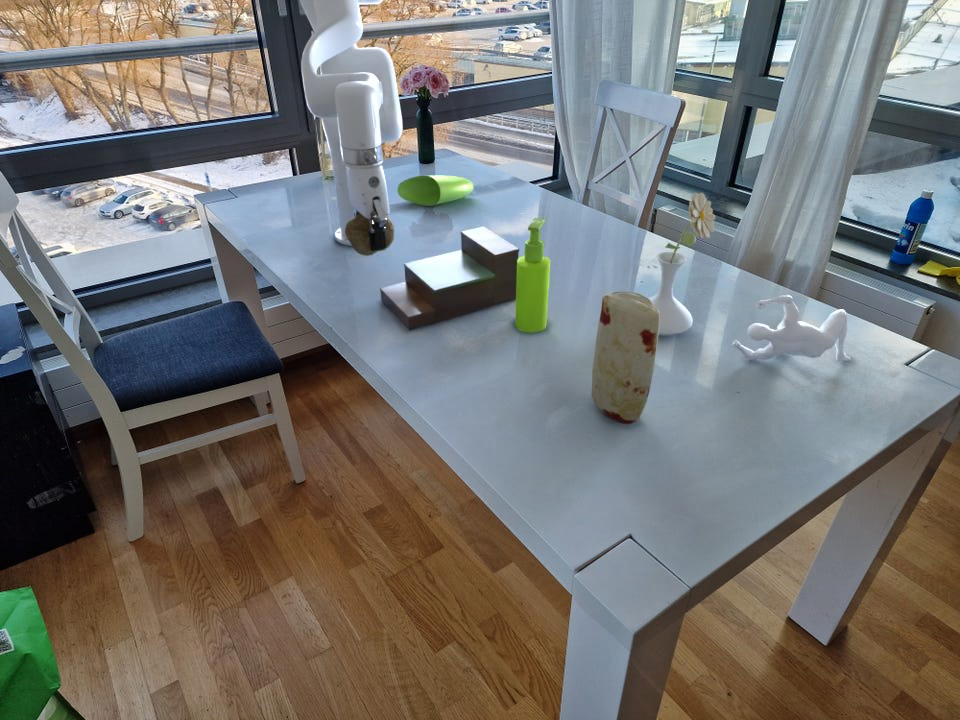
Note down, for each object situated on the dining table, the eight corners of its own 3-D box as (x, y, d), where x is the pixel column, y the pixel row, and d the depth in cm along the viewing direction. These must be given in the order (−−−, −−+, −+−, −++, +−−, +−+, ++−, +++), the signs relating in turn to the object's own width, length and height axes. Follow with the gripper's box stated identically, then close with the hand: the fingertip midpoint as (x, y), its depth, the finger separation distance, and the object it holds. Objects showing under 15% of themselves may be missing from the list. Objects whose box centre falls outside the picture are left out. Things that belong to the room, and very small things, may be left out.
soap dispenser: (551, 317, 121) (557, 217, 110) (542, 335, 116) (548, 232, 105) (521, 312, 123) (525, 213, 112) (511, 329, 117) (514, 228, 106)
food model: (578, 406, 98) (590, 292, 87) (606, 389, 102) (620, 277, 90) (628, 437, 92) (648, 318, 81) (656, 418, 95) (679, 302, 84)
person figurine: (818, 278, 110) (762, 289, 100) (883, 322, 103) (830, 339, 93) (778, 336, 118) (722, 352, 108) (835, 380, 111) (781, 402, 101)
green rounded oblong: (415, 179, 162) (482, 172, 171) (396, 175, 172) (460, 169, 181) (417, 210, 165) (483, 202, 174) (398, 205, 174) (461, 197, 184)
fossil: (337, 223, 124) (378, 201, 128) (335, 233, 128) (375, 211, 132) (363, 260, 124) (404, 237, 128) (360, 268, 128) (400, 246, 132)
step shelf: (381, 301, 127) (375, 250, 121) (483, 274, 137) (483, 226, 131) (409, 331, 117) (405, 277, 111) (517, 299, 127) (519, 248, 121)
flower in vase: (656, 347, 112) (680, 212, 98) (616, 319, 120) (633, 190, 107) (710, 329, 117) (741, 198, 103) (668, 303, 125) (692, 179, 112)
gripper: (399, 164, 113) (406, 254, 124) (363, 139, 125) (372, 223, 136) (360, 170, 110) (370, 263, 121) (327, 145, 122) (338, 231, 133)
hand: (371, 241), depth 128 cm, fingers closed on fossil, 6 cm apart
